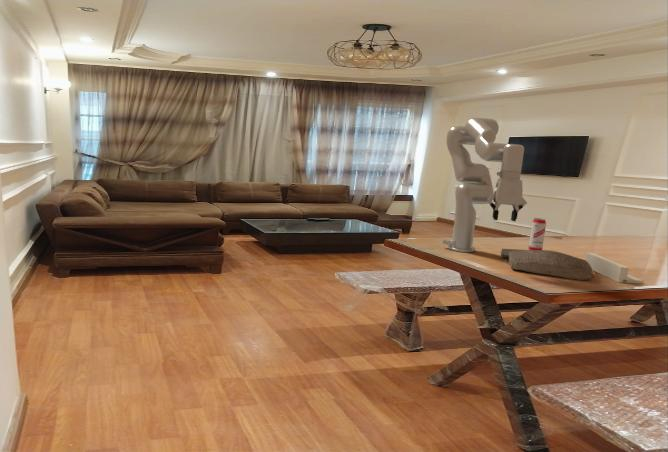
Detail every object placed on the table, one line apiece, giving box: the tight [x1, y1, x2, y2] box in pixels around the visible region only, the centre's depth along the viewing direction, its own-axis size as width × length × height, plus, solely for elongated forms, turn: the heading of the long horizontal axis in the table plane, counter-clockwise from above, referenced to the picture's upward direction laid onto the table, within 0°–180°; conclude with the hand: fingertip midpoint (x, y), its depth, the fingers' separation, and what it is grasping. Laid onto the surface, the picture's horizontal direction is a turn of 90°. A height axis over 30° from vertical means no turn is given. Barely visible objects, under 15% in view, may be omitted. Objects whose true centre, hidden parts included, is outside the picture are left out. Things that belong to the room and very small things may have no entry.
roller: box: [500, 248, 523, 260], centre depth 202 cm, size 10×4×4 cm, turn 90°
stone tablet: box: [508, 249, 594, 281], centre depth 184 cm, size 20×8×30 cm
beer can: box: [528, 217, 547, 250], centre depth 221 cm, size 6×6×16 cm
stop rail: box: [584, 252, 644, 285], centre depth 185 cm, size 10×24×6 cm, turn 0°
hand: (504, 219), depth 181 cm, fingers open, 6 cm apart
